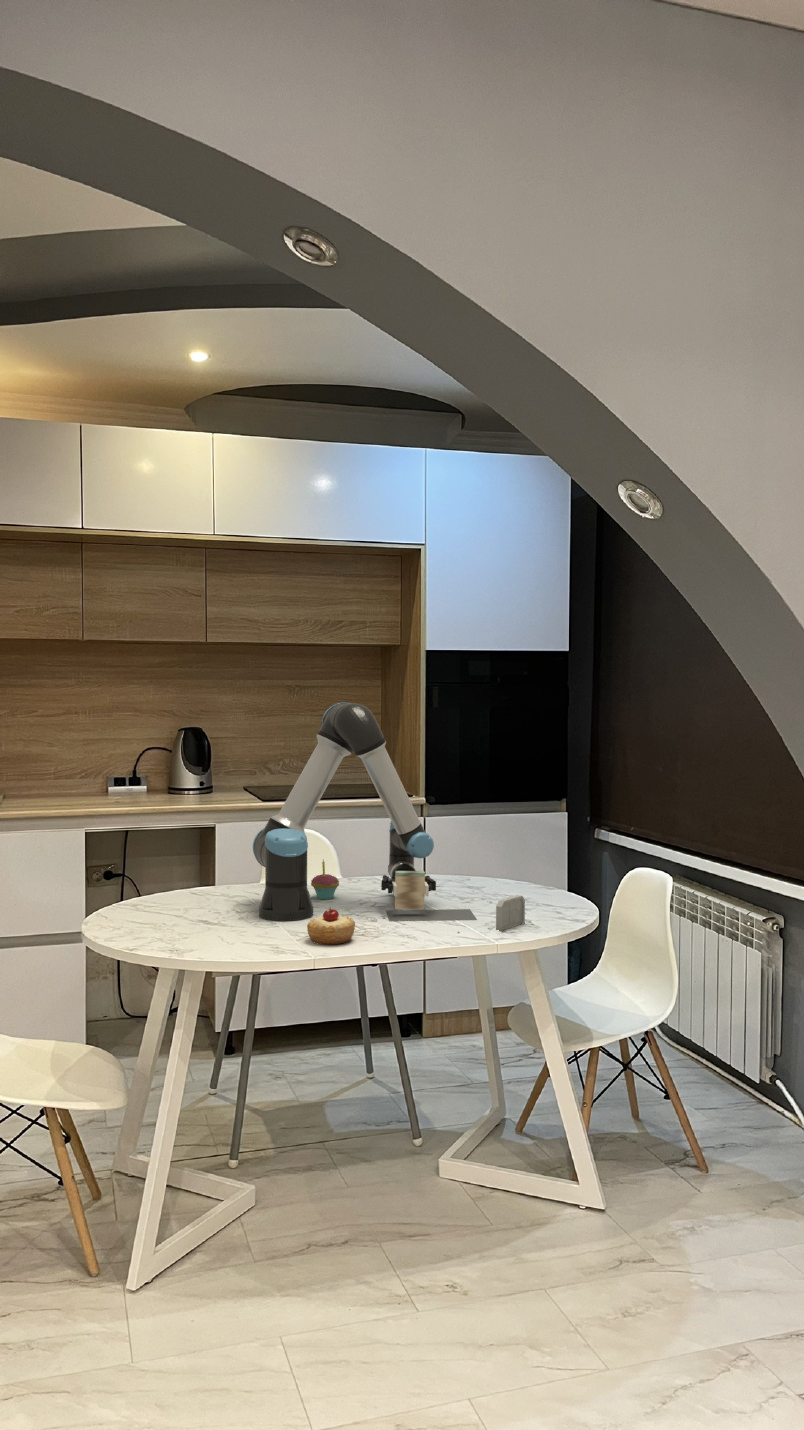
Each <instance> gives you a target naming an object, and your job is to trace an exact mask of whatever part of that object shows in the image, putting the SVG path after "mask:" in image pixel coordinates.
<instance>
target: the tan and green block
mask: <svg viewBox="0 0 804 1430" xmlns="http://www.w3.org/2000/svg"><path fill="white" fill-rule="evenodd" d="M425 876H426V872H425V871H424V870H416V871H395V883H396V885H397V896H394V908H395V909H394V910H425V897H426V895H425Z"/></svg>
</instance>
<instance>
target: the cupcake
mask: <svg viewBox="0 0 804 1430" xmlns="http://www.w3.org/2000/svg"><path fill="white" fill-rule="evenodd" d="M321 864H322V874H318V875H315V876H314V877H313V878H312V879H311V882H310V885H311V887H312V888H313V889H314V891H315V894H316V898H317V899H320V900H331V899H333V898H334V896H335V892H336V890H337V888H338V887H339V886H340V881H339V879H338V878H337V876H334V875H332V874H329V873H327V874H326V867H325V866H326V864H325V861H324V859H322V862H321Z"/></svg>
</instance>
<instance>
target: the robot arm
mask: <svg viewBox="0 0 804 1430" xmlns="http://www.w3.org/2000/svg"><path fill="white" fill-rule="evenodd" d="M316 739H317V744H316V746H315V748H314V750H313V751H312V753H311V755H310V757H309V759H308V761H307V762H306V764H305V766H304V768H303V770H302V772H301V773H300V775H299V776H298V778H297V779H296V782H295V783H294V786H293V787H292V789H291V791H290V792H289V795H288V796H287V798H286V799H285V802H284V803H283V805H282V807H281V809H280V810H279V811H278V813H277V814H275V815H272V816H270V817H269V820H268V822H267V823H266V824H265V826H264V828H262V829H260V830H259V831H258V833H256V835H255V836H254V838H253V842H252V852H253V855H254V858H255V860H256V861H257V862H258V864H259V865H261V866H262V867H263V868H265V871H264V872H265V873H264V874H265V876H264V877H265V878H264V880H265V882H264V883H265V885H264V886H265V887H264V891H263V895H262V898H261V901H260V904H259V906H258V907H259V908H258V917H260V918H261V919H265V920H269V921H271V920H272V921H278V922H279V921H281V922H282V921H283V922H284V921H285V922H287V921H298V920H299V921H300V920H305V919H309V918H311V917H313V916H314V904H313V901H312V898H311V895H310V892H309V888H308V849H309V848H308V847H309V846H308V845H309V843H308V837H307V835H306V831H305V827H306V825H307V823H309V822H308V821H310V818H311V816H312V815H313V813H314V811H315V809H316V807H317V805H318V804H319V802H320V800H321V799H322V797H323V795H324V793H325V791H326V789H327V787H328V786H329V784H330V782H331V780H332V778H333V777H334V775H335V774H336V771H337V770H338V768H339V766H340V765H341V762H342V761H343V758H345V757H347V756H348V757H349V756H351V755H352V754H353V752H354V755H355V756H356V757H358V758H360V759H361V761H362V763H363V765H364V767H365V769H366V772H367V773H368V776H369V778H370V780H371V781H372V784H373V786H374V788H375V791H376V792H377V794H378V796H379V799H380V800H381V802H382V805H383V807H384V809H385V810H386V813H387V815H388V817H389V820H390V823H389V824H390V825H389V830H388V831H389V857H388V862H389V863H388V866H387V872H388V874H389V875H386V874H384V875H382V880H381V886H380V887H381V891H386V890H387V893H388V894H393V896H394V897H395V896H397V885H396V883H395V871H417V870H416V868H415V859H416V858H417V859H425V858H428V857H429V856H430V855H431V854H432V852H433V850H434V846H435V843H434V840H433V838H432V836H430V835H429V833H428V832H426V831H425V829H424V826H423V825H422V822H421V821H420V819H419V816H418V815H417V813H416V810H415V807H414V806H413V804H412V801H411V799H410V797H409V796H408V793H407V791H406V789H405V787H404V785H403V782H402V781H401V778H400V776H399V774H398V772H397V769H396V768H395V765H394V764H393V762H392V759H391V757H390V755H389V753H388V750H387V749H386V744H387V741H386V738H385V736H384V734H383V731H382V730H381V728H380V725H379V723H378V721H377V719H376V717H375V716H374V714H373V712H372V711H371V710H370V709H369V708H368V707H367V706H365V705H363V704H361V703H352V702H345V701H343V702H339V703H335V704H334V705H332V706H330V707H328V709H327V710H326V711H325V712H324V713H323V716H322V720H321V727H320V729H319V731H318V732H317V734H316ZM432 891H433V892H434V891H437V881H436V880H435V879H433V878H431V877H430V875H428V874H427V875H425V897H429V892H432Z"/></svg>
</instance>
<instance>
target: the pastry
mask: <svg viewBox="0 0 804 1430" xmlns="http://www.w3.org/2000/svg"><path fill="white" fill-rule="evenodd" d="M355 927H356V922H355V920H354V919H353V918H351V917H349V916H344V915H342V916H340V913H339V911H338V910H337V909H336V908H335V909H334V908H332V907H331V906H330V907H329V909H326V910H325V911H324V912H323V914H322V915H319V916H317V917H315V918H313V919H310V920H309V921H308V923H307V924H306V928H307V935H308V937H309V939H310V940H311V942H313V943H314V942H315V943H314V944H317V943H318V944H317V945H328V946H330V945H342V944H344V943H347V942H349V941H351V939H352V938H353V936H354V933H355Z"/></svg>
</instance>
